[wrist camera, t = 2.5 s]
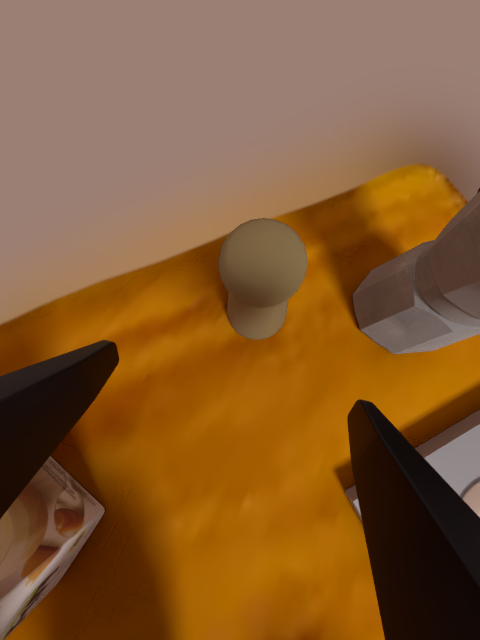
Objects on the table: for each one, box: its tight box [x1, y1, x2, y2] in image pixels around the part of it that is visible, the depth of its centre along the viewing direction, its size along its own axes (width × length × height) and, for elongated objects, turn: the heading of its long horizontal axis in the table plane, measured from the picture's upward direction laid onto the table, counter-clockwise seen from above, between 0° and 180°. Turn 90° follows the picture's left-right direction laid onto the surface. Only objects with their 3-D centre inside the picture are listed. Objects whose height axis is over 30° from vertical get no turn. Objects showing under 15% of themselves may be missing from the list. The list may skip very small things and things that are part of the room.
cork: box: [218, 218, 307, 340], centre depth 17 cm, size 6×6×11 cm
